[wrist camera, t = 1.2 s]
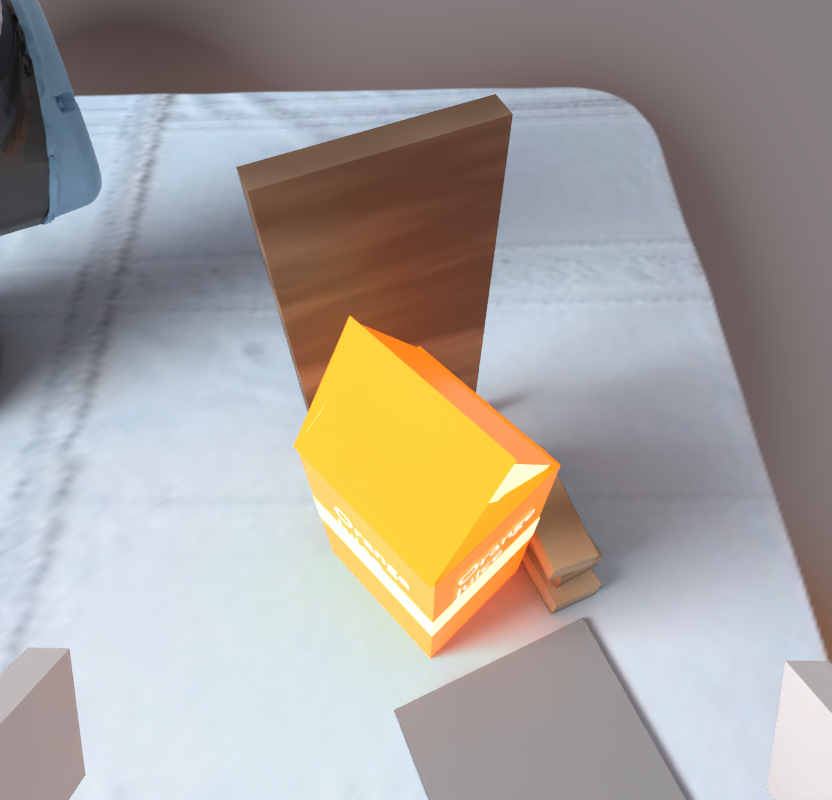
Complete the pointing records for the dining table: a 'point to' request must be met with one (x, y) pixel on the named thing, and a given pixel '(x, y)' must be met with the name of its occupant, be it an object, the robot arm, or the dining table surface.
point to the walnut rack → (404, 268)
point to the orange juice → (419, 482)
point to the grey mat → (536, 730)
